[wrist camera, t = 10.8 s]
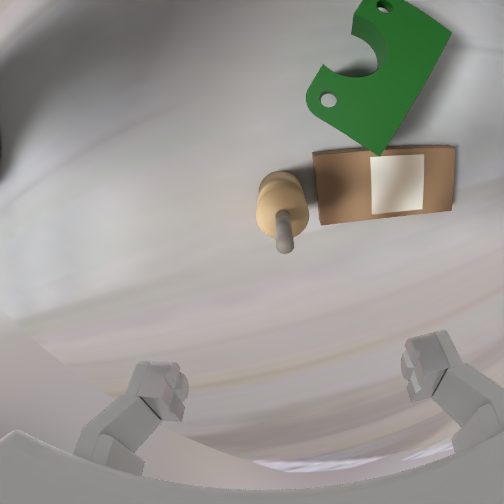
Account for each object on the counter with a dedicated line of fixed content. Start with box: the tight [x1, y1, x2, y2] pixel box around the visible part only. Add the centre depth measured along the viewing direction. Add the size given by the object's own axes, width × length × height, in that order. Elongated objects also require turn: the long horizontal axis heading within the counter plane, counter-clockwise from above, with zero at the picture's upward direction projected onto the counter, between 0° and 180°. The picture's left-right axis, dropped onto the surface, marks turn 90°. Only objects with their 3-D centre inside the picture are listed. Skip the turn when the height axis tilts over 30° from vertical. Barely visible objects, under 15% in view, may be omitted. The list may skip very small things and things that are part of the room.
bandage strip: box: [312, 145, 455, 225], centre depth 22 cm, size 13×6×1 cm, turn 101°
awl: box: [256, 171, 309, 254], centre depth 20 cm, size 4×4×9 cm
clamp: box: [306, 0, 452, 157], centre depth 16 cm, size 12×6×9 cm, turn 147°
